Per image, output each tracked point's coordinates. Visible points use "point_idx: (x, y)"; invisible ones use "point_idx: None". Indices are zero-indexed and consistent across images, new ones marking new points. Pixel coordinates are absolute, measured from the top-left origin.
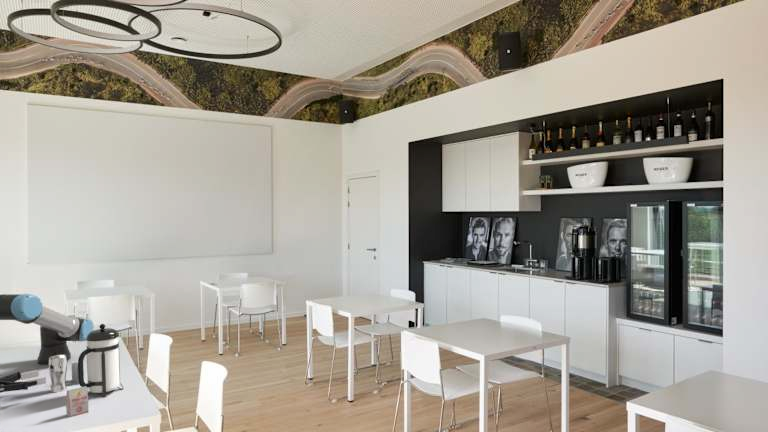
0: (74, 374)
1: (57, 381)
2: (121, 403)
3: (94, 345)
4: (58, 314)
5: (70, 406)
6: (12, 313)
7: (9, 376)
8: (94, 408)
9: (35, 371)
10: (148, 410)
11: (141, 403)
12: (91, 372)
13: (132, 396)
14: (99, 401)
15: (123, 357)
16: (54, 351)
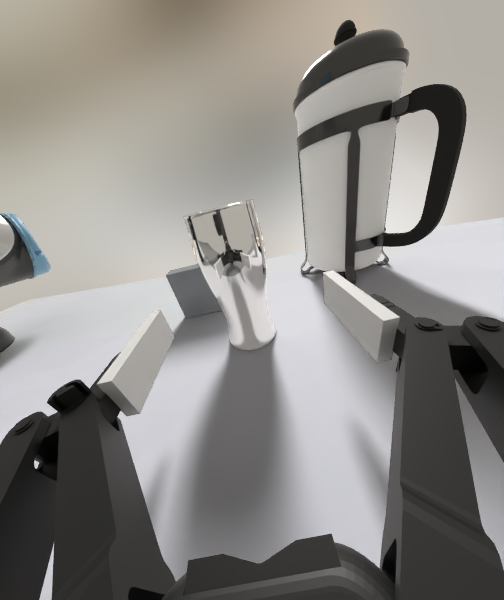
0: (204, 293)
1: (266, 301)
2: (444, 243)
3: (399, 87)
4: None
5: None
6: None
7: (5, 512)
8: (491, 259)
9: (156, 320)
10: (499, 220)
11: (447, 231)
12: (379, 205)
13: None
14: (420, 263)
15: (141, 281)
16: None
